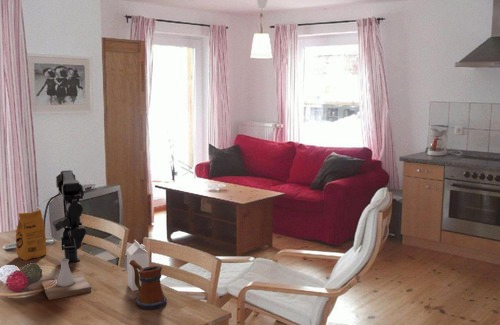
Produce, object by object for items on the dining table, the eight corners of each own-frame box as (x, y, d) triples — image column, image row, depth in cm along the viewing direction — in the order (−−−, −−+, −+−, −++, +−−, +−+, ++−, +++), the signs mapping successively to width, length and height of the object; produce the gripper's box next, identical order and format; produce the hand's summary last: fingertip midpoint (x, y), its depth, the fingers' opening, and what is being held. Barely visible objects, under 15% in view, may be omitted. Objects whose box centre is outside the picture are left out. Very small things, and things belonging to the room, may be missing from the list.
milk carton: (132, 291, 210) (130, 245, 207) (127, 285, 216) (126, 240, 213) (149, 288, 213) (148, 243, 210) (144, 282, 220) (143, 238, 216)
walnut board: (42, 285, 216) (41, 281, 215) (81, 278, 224) (81, 273, 223) (49, 300, 202) (48, 295, 202) (91, 291, 210) (90, 286, 210)
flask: (79, 282, 214) (77, 259, 212) (64, 288, 208) (63, 264, 206) (67, 279, 218) (65, 256, 216) (52, 285, 212) (51, 261, 210)
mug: (120, 299, 203) (118, 262, 201) (144, 290, 211) (143, 254, 209) (148, 313, 191) (146, 274, 188) (173, 303, 199) (172, 265, 197)
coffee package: (14, 256, 251) (11, 212, 247) (40, 250, 259) (37, 207, 256) (23, 261, 244) (19, 215, 240) (49, 255, 252) (46, 210, 249)
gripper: (49, 208, 227) (51, 243, 229) (57, 218, 211) (59, 255, 213) (75, 205, 232) (77, 239, 235) (85, 214, 216) (87, 251, 219)
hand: (75, 246), depth 225 cm, fingers open, 9 cm apart
